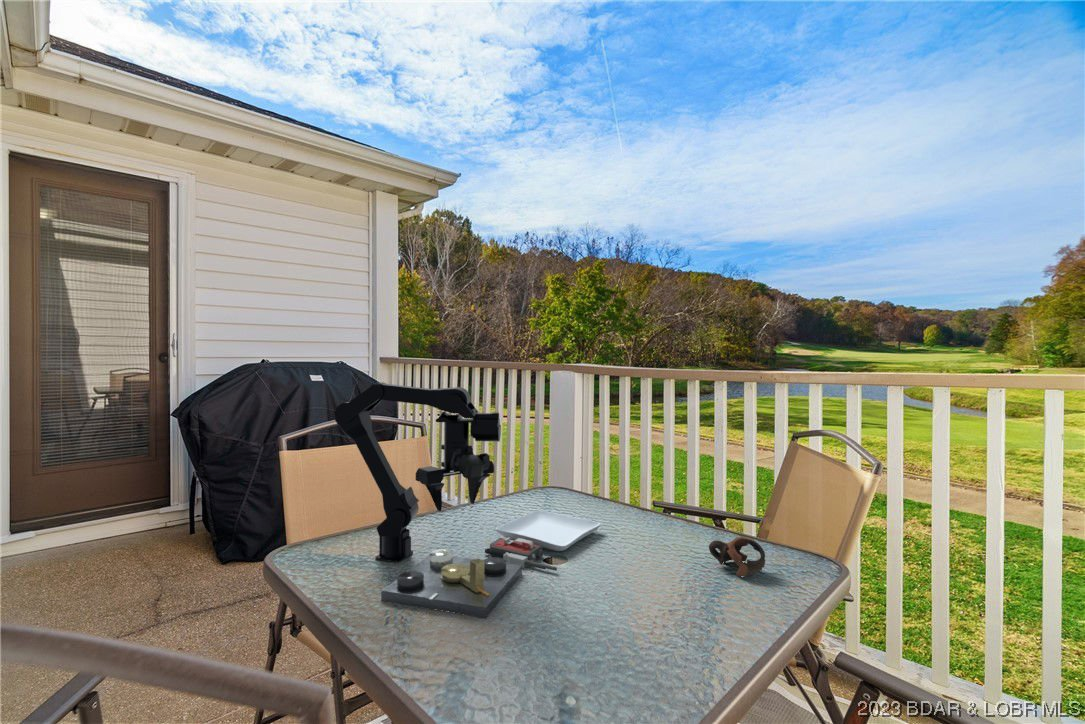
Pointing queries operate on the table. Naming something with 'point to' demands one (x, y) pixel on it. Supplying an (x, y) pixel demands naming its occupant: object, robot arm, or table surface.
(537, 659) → the table surface
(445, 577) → the brass knob
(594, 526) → the salad plate
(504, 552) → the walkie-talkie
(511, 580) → the instrument base
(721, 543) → the pottery mug
